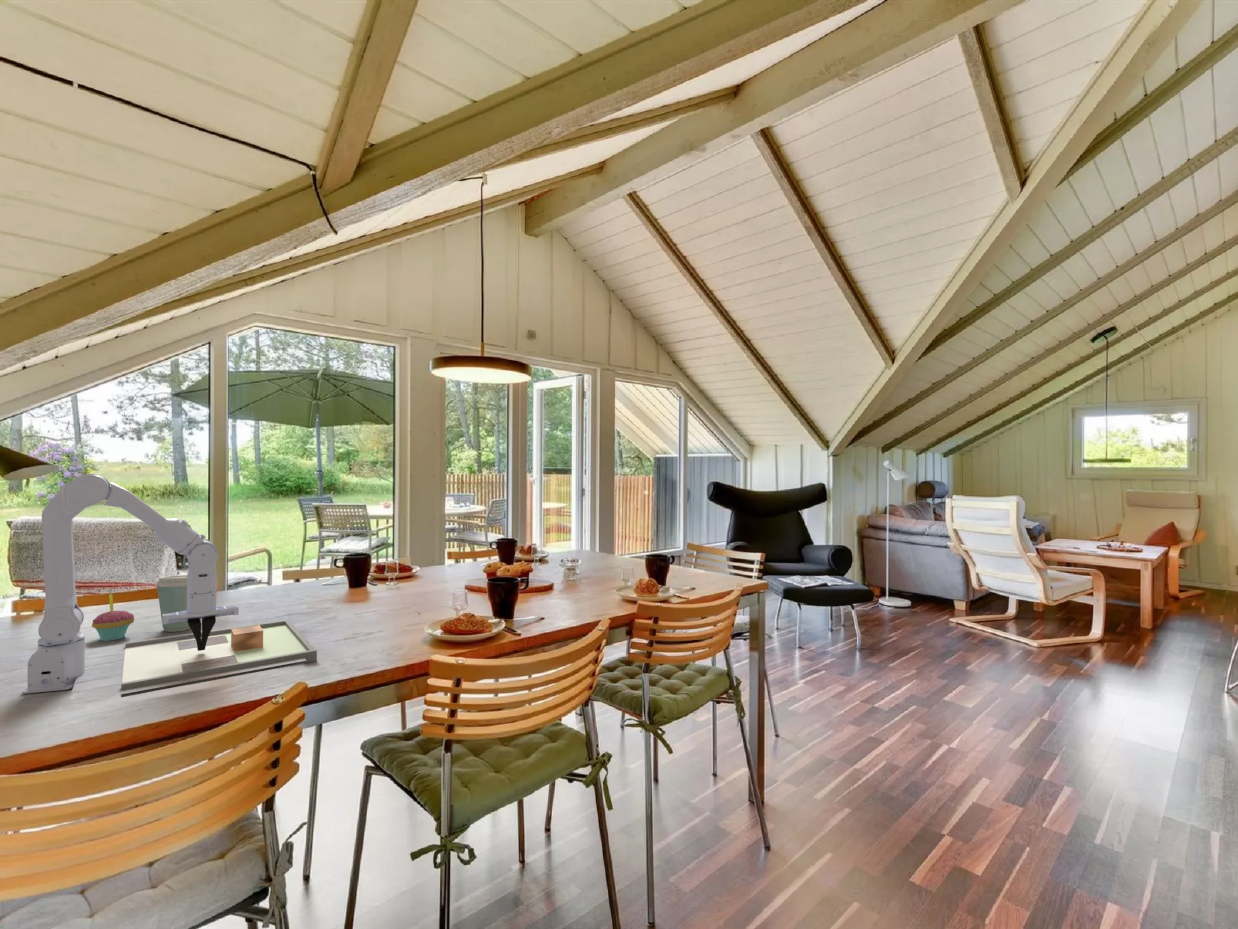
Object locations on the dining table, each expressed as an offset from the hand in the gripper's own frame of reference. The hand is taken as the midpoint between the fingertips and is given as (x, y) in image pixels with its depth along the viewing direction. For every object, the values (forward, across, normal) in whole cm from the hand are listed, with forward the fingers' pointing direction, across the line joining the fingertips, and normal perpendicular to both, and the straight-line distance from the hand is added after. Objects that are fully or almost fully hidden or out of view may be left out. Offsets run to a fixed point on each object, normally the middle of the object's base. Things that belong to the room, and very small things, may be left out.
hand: (201, 649), depth 139 cm
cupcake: (+3, +17, -35) cm, 39 cm away
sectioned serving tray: (+2, -3, 0) cm, 4 cm away
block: (+1, -9, 0) cm, 9 cm away
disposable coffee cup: (+3, +3, -35) cm, 35 cm away
